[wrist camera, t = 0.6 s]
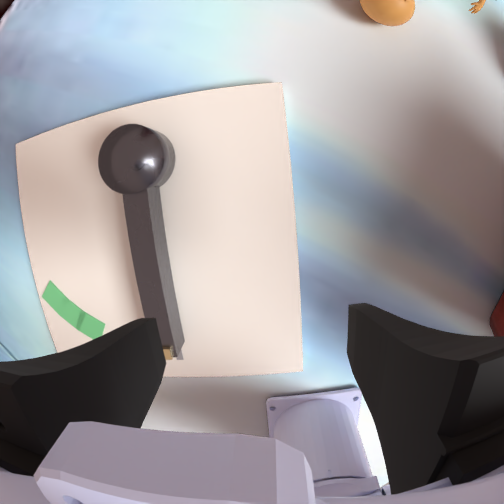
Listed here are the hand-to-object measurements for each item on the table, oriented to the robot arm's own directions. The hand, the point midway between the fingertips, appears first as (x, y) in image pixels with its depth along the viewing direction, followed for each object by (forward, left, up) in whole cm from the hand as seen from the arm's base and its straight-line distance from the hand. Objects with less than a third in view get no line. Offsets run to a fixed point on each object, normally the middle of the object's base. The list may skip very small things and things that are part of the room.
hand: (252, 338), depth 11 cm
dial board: (+2, +8, -10) cm, 13 cm away
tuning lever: (+2, +6, -9) cm, 11 cm away
